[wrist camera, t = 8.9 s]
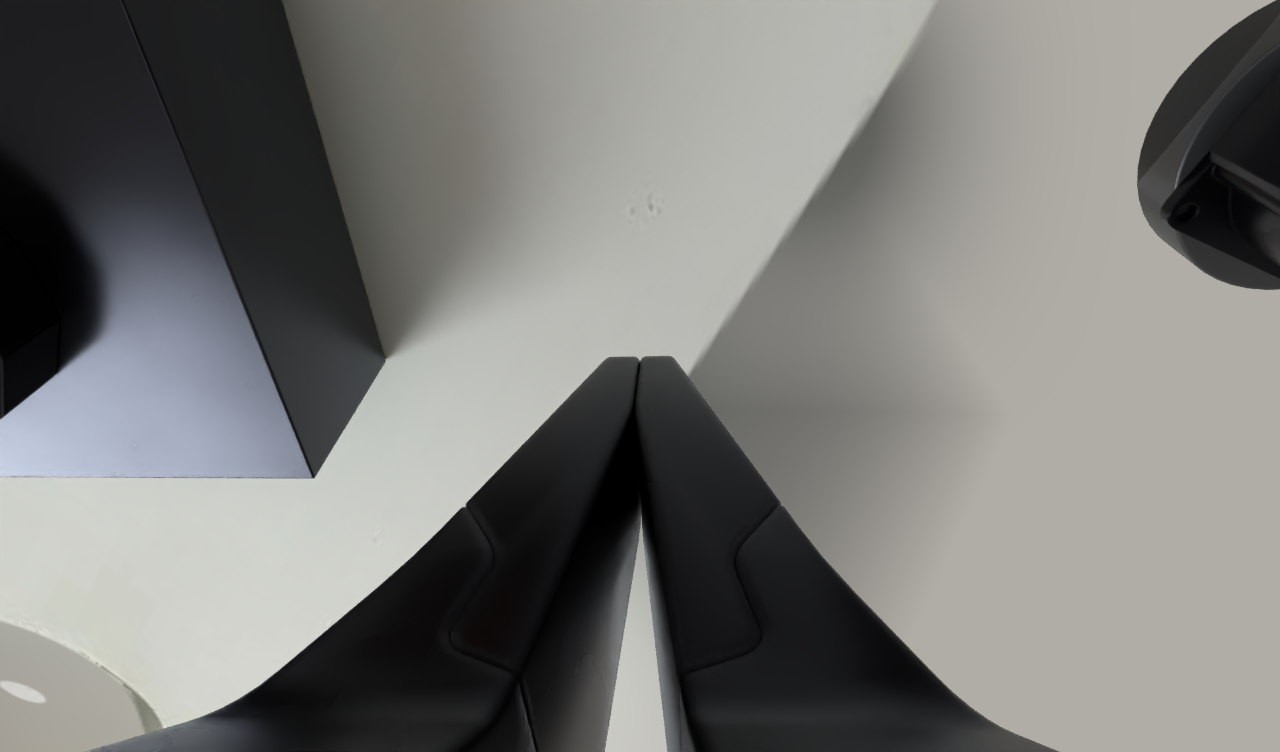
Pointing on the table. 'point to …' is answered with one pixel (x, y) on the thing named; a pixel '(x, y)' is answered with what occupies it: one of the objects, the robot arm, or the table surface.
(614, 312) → the table surface
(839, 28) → the table surface
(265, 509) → the table surface
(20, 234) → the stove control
